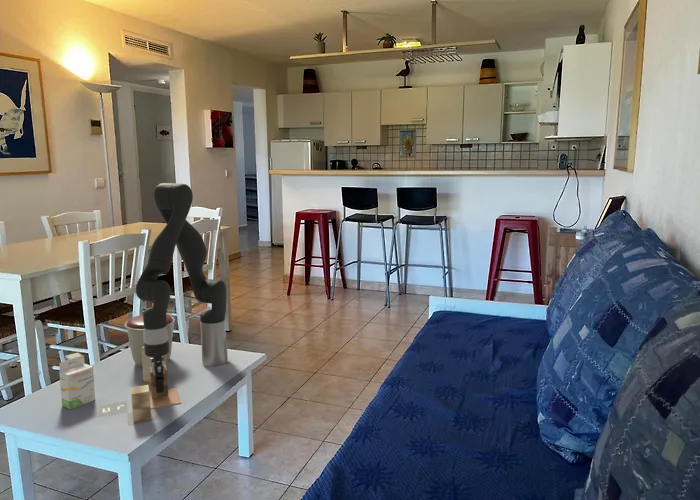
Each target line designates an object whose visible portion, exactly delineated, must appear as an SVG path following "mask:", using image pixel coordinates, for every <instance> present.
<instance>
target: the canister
mask: <svg viewBox="0 0 700 500" xmlns="http://www.w3.org/2000/svg"><path fill="white" fill-rule="evenodd" d="M166 316H167V328H168V337H169V352H168V353H167V354H166V363H167V362H168V361H169V360H170V359H171V355H172V349H173V348H172V347H173V335H174V334H173V332H174V324H175V322H176V321H175V317H173V316H171V315H169V314H168V313H166ZM124 327H125V329H126V331H127V336H128V341H129V346H130V353H131V356H132V359H133V362H134V364H136V365H137V366H139V367H143V365H142V349H141V348H142V347H144V336H143V333H144V323H143V314H140V315H136V316H133V317H131V318H130V319H128V320H127V321H125V323H124Z"/></svg>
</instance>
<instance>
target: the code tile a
mask: <svg viewBox="0 0 700 500" xmlns="http://www.w3.org/2000/svg"><path fill="white" fill-rule="evenodd" d="M127 401H128V400H124V401H119V402H118V401H117V402H113V403H107V404H101V405H99V407H98V408H99V409H98V410H99V411H98V418H102V417H107V416H113V415H118V414H125V413H128V402H127Z"/></svg>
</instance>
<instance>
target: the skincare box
mask: <svg viewBox="0 0 700 500" xmlns="http://www.w3.org/2000/svg"><path fill="white" fill-rule="evenodd" d="M82 355H83V354H81V353H80V352H74V353H71V354H66V355H64V359H65V360H64V361H66V360H69V359H72V358H75V357H79V356H82ZM73 363H76V361H71V362H70V363H68V365H70V364H73ZM84 364H86V363H85V359H84Z"/></svg>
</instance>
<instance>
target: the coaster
mask: <svg viewBox="0 0 700 500" xmlns="http://www.w3.org/2000/svg"><path fill="white" fill-rule="evenodd" d="M149 393H150V409H154V408H155V409H158V408H160V409H161V408H165V407H169V406H176V405H180V404H182V401H181V398H180V397H181V396H180V395H179V391H178V388H177V387H172V388H168V396H166V397H161V398H155V399H152V395H151V391H149Z"/></svg>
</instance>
